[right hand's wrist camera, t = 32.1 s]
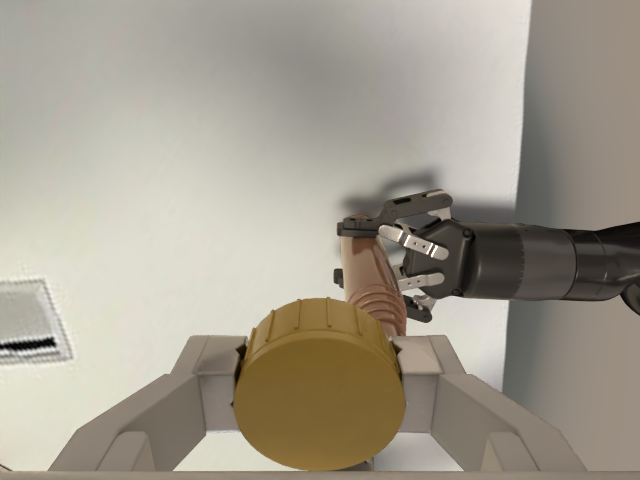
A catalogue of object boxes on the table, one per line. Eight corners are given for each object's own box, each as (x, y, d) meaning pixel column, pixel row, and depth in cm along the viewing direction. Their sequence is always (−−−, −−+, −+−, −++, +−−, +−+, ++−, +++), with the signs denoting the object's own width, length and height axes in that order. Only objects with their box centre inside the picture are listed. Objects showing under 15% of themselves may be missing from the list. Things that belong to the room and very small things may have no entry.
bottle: (332, 239, 45) (336, 373, 24) (352, 207, 44) (376, 318, 22) (364, 257, 46) (397, 402, 24) (385, 226, 44) (439, 351, 23)
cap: (416, 388, 11) (432, 441, 9) (286, 435, 12) (281, 492, 10) (359, 270, 10) (366, 309, 8) (216, 331, 10) (197, 377, 9)
